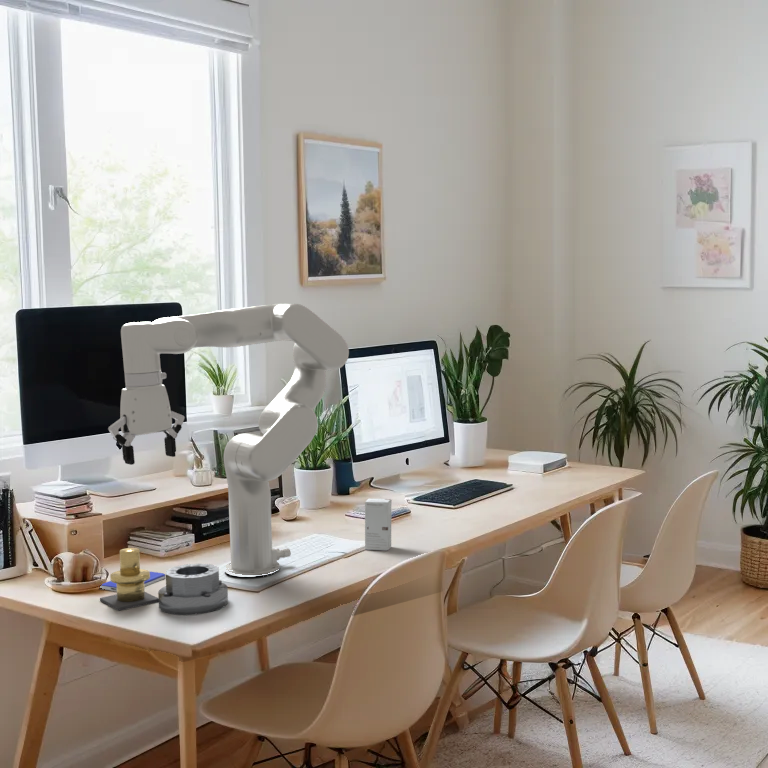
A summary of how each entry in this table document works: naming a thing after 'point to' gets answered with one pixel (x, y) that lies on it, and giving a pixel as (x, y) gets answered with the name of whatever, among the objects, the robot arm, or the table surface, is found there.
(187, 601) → the housing
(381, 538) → the skincare box
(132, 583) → the brass flanged shaft
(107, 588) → the hard drive
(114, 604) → the mat
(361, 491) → the table surface
